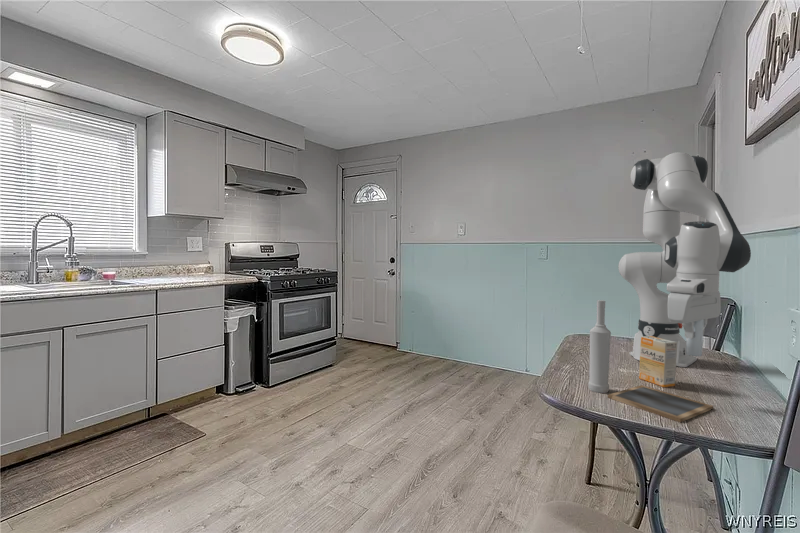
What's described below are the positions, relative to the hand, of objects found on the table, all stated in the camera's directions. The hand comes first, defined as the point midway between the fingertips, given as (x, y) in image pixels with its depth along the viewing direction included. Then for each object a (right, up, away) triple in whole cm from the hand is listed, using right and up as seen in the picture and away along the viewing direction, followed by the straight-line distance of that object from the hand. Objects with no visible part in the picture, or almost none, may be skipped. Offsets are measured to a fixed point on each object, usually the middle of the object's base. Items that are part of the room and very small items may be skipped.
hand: (694, 336), depth 101 cm
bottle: (-22, -16, +7) cm, 28 cm away
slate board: (-11, -16, -2) cm, 20 cm away
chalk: (0, -5, 0) cm, 5 cm away
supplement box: (-1, -16, +14) cm, 21 cm away
